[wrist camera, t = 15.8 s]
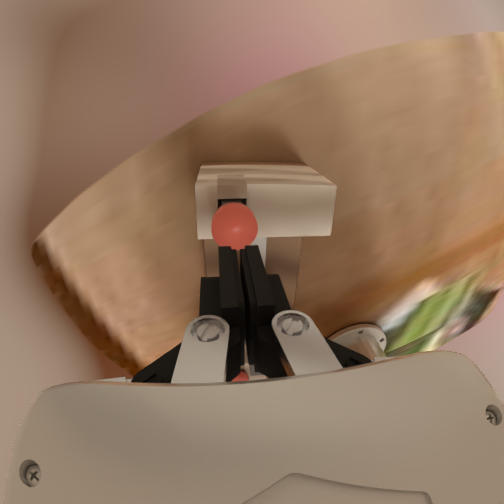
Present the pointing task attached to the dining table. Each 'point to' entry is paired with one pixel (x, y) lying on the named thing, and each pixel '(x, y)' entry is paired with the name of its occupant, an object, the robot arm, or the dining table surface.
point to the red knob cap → (241, 377)
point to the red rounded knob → (234, 224)
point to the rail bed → (267, 213)
